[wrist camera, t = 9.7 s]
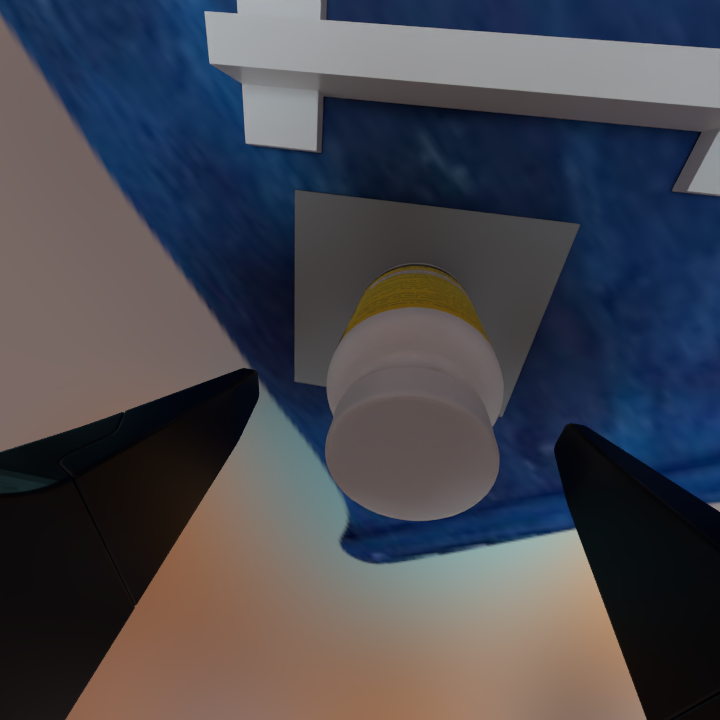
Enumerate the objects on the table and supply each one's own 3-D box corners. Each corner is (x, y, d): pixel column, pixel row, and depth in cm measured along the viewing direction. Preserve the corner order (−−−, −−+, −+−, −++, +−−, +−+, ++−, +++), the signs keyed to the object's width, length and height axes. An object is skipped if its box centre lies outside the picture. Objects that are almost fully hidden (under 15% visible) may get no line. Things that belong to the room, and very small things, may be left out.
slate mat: (575, 223, 13) (580, 224, 13) (499, 411, 18) (502, 417, 18) (298, 190, 14) (294, 189, 14) (297, 377, 19) (294, 381, 19)
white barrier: (870, 18, 10) (1039, -47, 7) (755, 200, 12) (849, 202, 9) (246, -22, 11) (195, -86, 9) (254, 145, 14) (216, 135, 11)
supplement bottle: (347, 273, 15) (261, 378, 7) (464, 248, 14) (545, 341, 5) (371, 370, 18) (330, 540, 9) (473, 356, 16) (539, 540, 8)
